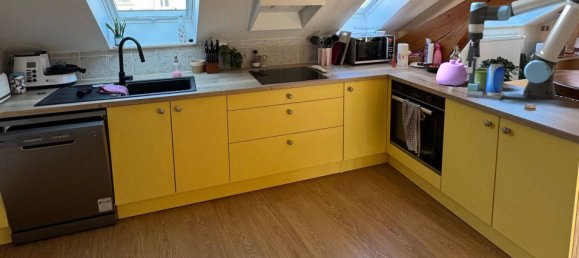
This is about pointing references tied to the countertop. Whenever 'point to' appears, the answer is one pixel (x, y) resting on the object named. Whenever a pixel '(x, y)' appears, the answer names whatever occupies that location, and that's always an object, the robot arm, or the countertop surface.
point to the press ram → (473, 85)
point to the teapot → (452, 73)
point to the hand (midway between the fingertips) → (472, 70)
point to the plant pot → (481, 76)
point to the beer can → (495, 79)
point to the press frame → (483, 94)
